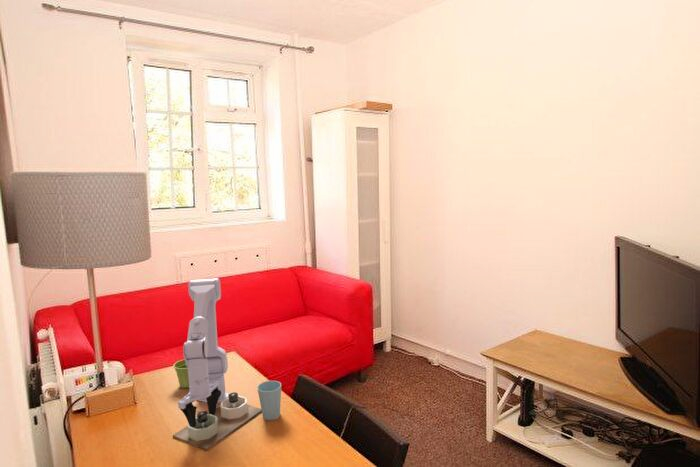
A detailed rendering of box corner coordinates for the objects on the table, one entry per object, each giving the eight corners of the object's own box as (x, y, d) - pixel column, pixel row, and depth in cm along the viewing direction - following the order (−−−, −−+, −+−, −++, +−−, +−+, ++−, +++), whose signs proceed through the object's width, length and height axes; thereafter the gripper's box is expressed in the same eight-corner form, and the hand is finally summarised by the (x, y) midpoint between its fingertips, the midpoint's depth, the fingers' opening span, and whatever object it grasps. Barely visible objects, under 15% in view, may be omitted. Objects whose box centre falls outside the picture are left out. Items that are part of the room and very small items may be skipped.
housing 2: (216, 415, 145) (215, 405, 145) (234, 403, 152) (233, 394, 152) (234, 421, 141) (233, 411, 140) (252, 408, 148) (252, 399, 148)
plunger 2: (221, 413, 146) (219, 396, 145) (234, 405, 151) (233, 388, 150) (234, 418, 143) (233, 400, 142) (247, 409, 148) (246, 392, 147)
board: (172, 437, 135) (172, 435, 135) (230, 401, 155) (230, 399, 155) (206, 450, 127) (206, 448, 127) (262, 411, 148) (262, 409, 148)
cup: (258, 423, 140) (256, 392, 139) (260, 411, 148) (258, 381, 146) (282, 420, 141) (280, 390, 140) (283, 408, 149) (281, 379, 147)
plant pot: (191, 377, 176) (189, 356, 175) (206, 382, 170) (204, 361, 169) (170, 386, 168) (168, 365, 167) (185, 392, 163) (182, 370, 162)
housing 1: (183, 435, 134) (182, 425, 134) (205, 422, 141) (204, 412, 141) (202, 443, 130) (201, 432, 129) (223, 428, 137) (222, 418, 137)
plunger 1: (189, 434, 135) (187, 415, 134) (204, 424, 140) (203, 406, 139) (202, 439, 131) (200, 420, 131) (218, 429, 137) (216, 411, 136)
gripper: (187, 391, 125) (192, 435, 127) (225, 370, 137) (229, 411, 139) (171, 386, 129) (176, 429, 130) (210, 366, 141) (213, 406, 143)
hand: (202, 419), depth 135 cm, fingers open, 7 cm apart
